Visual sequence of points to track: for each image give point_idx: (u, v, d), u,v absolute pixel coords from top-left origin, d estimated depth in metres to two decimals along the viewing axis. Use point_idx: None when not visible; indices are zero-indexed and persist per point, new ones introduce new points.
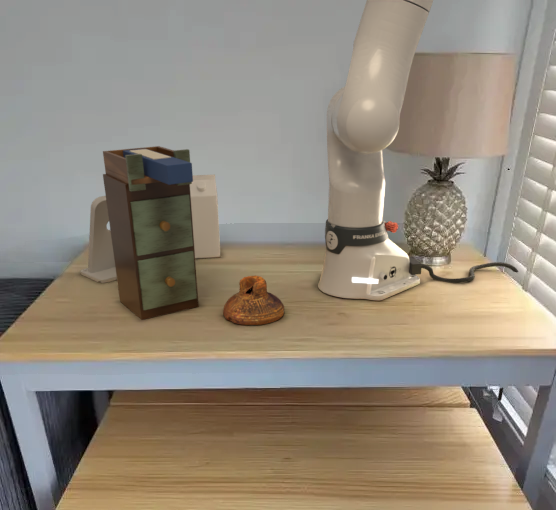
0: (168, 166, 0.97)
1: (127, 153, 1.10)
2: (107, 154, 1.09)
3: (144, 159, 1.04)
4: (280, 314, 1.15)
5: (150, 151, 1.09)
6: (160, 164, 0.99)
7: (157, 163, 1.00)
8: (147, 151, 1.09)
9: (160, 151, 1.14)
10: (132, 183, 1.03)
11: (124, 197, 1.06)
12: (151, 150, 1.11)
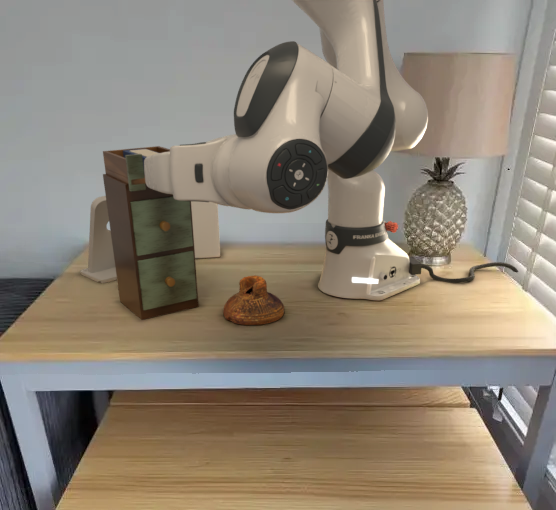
0: None
1: (127, 153, 1.10)
2: (107, 154, 1.09)
3: (144, 159, 1.04)
4: (280, 314, 1.15)
5: (150, 151, 1.09)
6: None
7: None
8: (147, 151, 1.09)
9: (160, 151, 1.14)
10: (132, 183, 1.03)
11: (124, 197, 1.06)
12: (151, 150, 1.11)
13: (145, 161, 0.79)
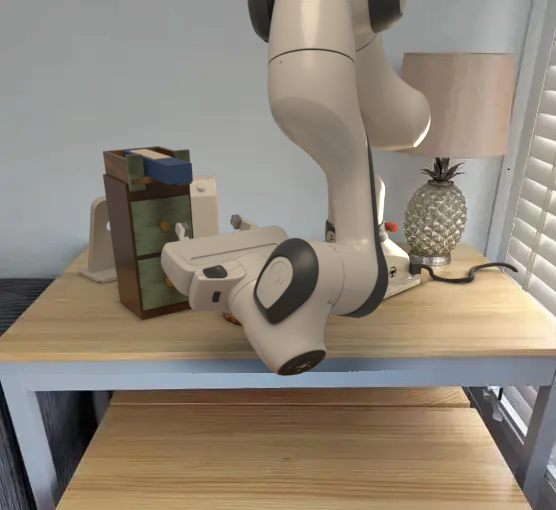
0: (168, 166, 0.97)
1: (127, 153, 1.10)
2: (107, 154, 1.09)
3: (144, 159, 1.04)
4: None
5: (150, 151, 1.09)
6: (160, 164, 0.99)
7: (157, 163, 1.00)
8: (147, 151, 1.09)
9: (160, 151, 1.14)
10: (132, 183, 1.03)
11: (124, 197, 1.06)
12: (151, 150, 1.11)
13: (164, 252, 0.86)
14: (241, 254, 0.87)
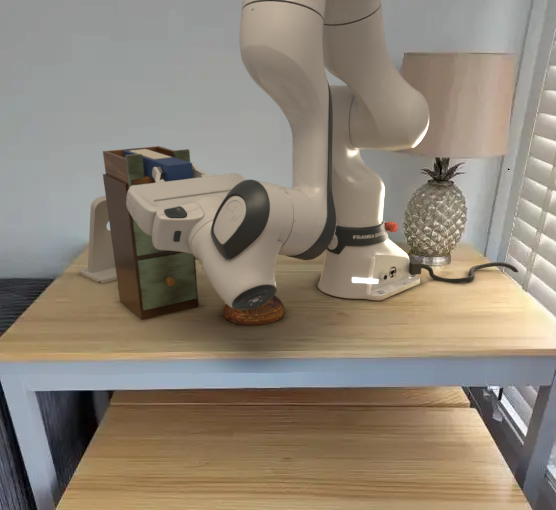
0: (168, 166, 0.97)
1: (127, 153, 1.10)
2: (107, 154, 1.09)
3: (144, 159, 1.04)
4: (280, 314, 1.15)
5: (150, 151, 1.09)
6: (160, 164, 0.99)
7: (157, 163, 1.00)
8: (147, 151, 1.09)
9: (160, 151, 1.14)
10: (132, 183, 1.03)
11: (124, 197, 1.06)
12: (151, 150, 1.11)
13: (129, 194, 0.92)
14: (201, 197, 0.93)
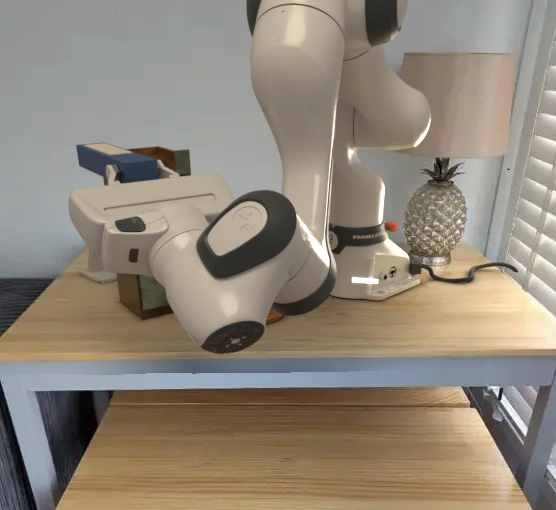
0: (126, 164, 0.75)
1: (80, 148, 0.88)
2: None
3: (99, 155, 0.82)
4: (280, 314, 1.15)
5: (109, 145, 0.87)
6: (116, 161, 0.77)
7: (113, 160, 0.78)
8: (105, 145, 0.87)
9: (160, 151, 1.14)
10: None
11: None
12: None
13: (71, 200, 0.70)
14: (166, 204, 0.72)
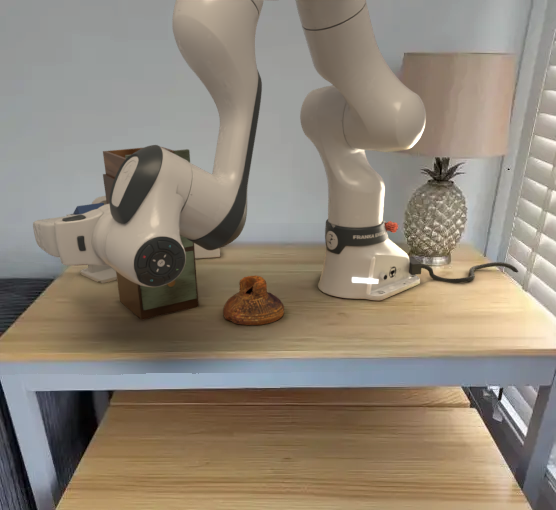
0: (78, 206, 0.97)
1: None
2: (107, 154, 1.09)
3: None
4: (280, 314, 1.15)
5: None
6: (74, 212, 1.00)
7: None
8: None
9: None
10: None
11: None
12: None
13: (34, 225, 0.91)
14: None
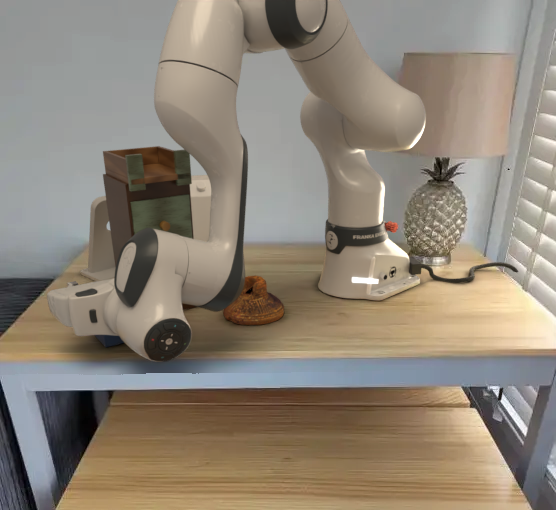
0: None
1: None
2: (107, 154, 1.09)
3: None
4: (280, 314, 1.15)
5: None
6: None
7: None
8: None
9: (160, 151, 1.14)
10: (132, 183, 1.03)
11: (124, 197, 1.06)
12: None
13: (48, 296, 0.96)
14: None
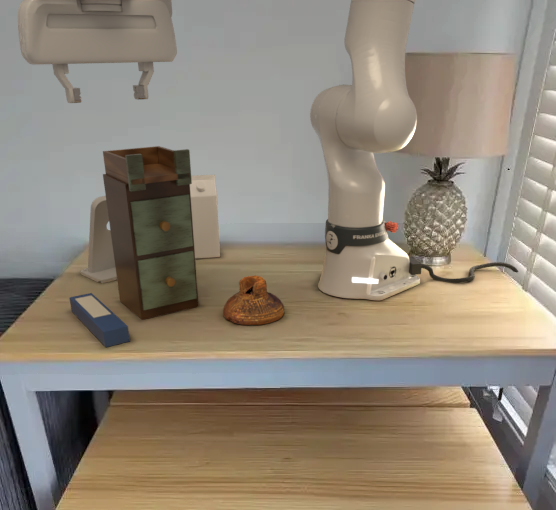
0: (104, 332, 1.04)
1: (73, 302, 1.16)
2: (107, 154, 1.09)
3: (86, 315, 1.11)
4: (280, 314, 1.15)
5: (94, 301, 1.16)
6: (98, 327, 1.06)
7: (96, 325, 1.07)
8: (91, 301, 1.16)
9: (160, 151, 1.14)
10: (132, 183, 1.03)
11: (124, 197, 1.06)
12: None
13: (21, 49, 0.77)
14: None
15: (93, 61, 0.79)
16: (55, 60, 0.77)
